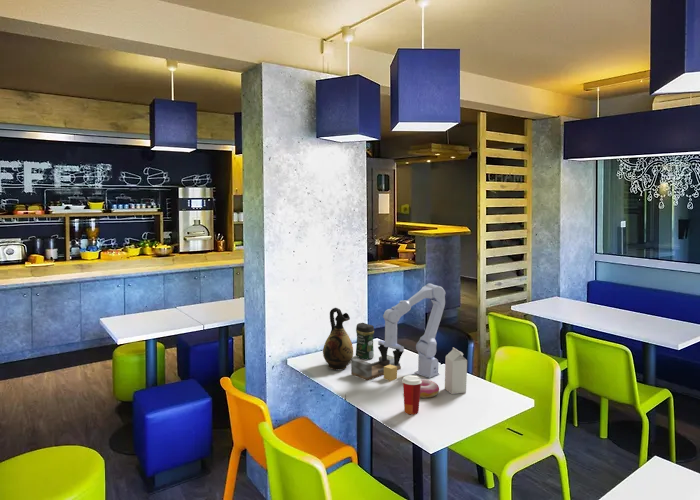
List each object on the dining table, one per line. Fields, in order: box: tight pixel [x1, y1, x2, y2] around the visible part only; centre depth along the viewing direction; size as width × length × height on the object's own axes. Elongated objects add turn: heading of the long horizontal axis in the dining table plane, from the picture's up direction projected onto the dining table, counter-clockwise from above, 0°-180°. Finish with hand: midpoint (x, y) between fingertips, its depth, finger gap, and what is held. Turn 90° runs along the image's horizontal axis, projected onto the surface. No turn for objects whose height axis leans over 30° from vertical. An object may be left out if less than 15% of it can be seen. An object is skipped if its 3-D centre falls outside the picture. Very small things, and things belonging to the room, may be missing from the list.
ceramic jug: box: [322, 307, 354, 371], centre depth 260 cm, size 17×15×30 cm
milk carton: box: [444, 347, 468, 395], centre depth 229 cm, size 7×7×19 cm
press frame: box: [350, 358, 402, 381], centre depth 253 cm, size 11×24×8 cm, turn 134°
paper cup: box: [401, 374, 422, 416], centre depth 206 cm, size 8×8×14 cm
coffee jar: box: [355, 322, 375, 360], centre depth 276 cm, size 10×8×19 cm
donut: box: [420, 378, 440, 399], centre depth 227 cm, size 14×13×5 cm
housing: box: [383, 365, 398, 382], centre depth 244 cm, size 4×4×6 cm
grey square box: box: [378, 354, 395, 366], centre depth 259 cm, size 7×6×4 cm
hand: (390, 362), depth 244 cm, fingers open, 7 cm apart
